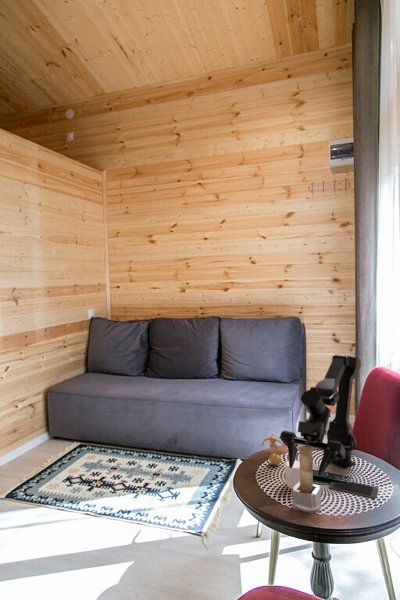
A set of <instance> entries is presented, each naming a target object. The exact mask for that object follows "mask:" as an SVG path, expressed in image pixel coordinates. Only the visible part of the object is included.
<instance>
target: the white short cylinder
mask: <svg viewBox="0 0 400 600" xmlns="http://www.w3.org/2000/svg"><path fill="white" fill-rule="evenodd" d="M283 466H284V474H285V482H286V486H287V487H288V488H289V489H291V490H293V487H294V486H295V485H296V484H297V483H298V482H300V459H298V460H297V459H295V461H294V464H293V467H292V468H290V467H289V459H288V460H286V461H285V462H283Z"/></svg>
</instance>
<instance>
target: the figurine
mask: <svg viewBox="0 0 400 600" xmlns="http://www.w3.org/2000/svg"><path fill="white" fill-rule="evenodd" d="M265 441H269V447H270V448H271V449H270V452H271V454H270V456H269V458H268V459H269V463H271V465H273V466H278V465H280V463H281V459H282V458H281V456H280V455H279V454H278V453H277V452H278V445H277V443H276V442H278V443H280V444H281V445H282V447H283V448H284V449H286V445H284V443H283V442H282V440H280V439H278V438H277V437H276V436H275V434H274V433H271V435H270V436H269V437H267V438H264V439H263V441H262V444H261V445H262V446H263V445H264V444H265ZM273 448H274V449H275V450H274V449H273ZM273 451H275V452H273Z"/></svg>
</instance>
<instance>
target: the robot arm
mask: <svg viewBox="0 0 400 600" xmlns="http://www.w3.org/2000/svg"><path fill="white" fill-rule="evenodd" d="M361 361H362V360H361V359H360V358H359V357H358V356H357V355H351V354H340V353H339V354H338V353H335V354H333V355H332V358H331V363H330V365H329V367H328V370H327V371H326V373H325V375H324V378H323V380H320V381H319V382H316V385H315V386H310V389H308V390H306V391H304V392H303V393H302V394H301V398H300V399H301V403H302V405H303V406H304V408H305V410H306V411H307V413H308V414H309V416H308V419H306V421H301V420H300V421H298V427H297V433H300V436H301V437H298V436H297V435H296V433H295V432H294V431H289V430H283V431H281V432H280V435H279V440H280V441H281V442H282V444H284V446H285V447H287V449H288V460H289V467H290V468H292V467H293V464H294V461H295V460H296V457H297V455H298V452H299V449H298V448H297V447H298V446H299V445H301V446H309V447H311V448H314V449H319V450H323V453H322V455H323V456H322V458H321V461H320V464H319V468H318V471H317V475H318V476H319V477H322V475H323V473H324V472H326V470H327V468H329V467H330V466H331V464H332V465H335V466H337V467H339V468H342V469H345V470H346V469H348V468H350V467H352V466H354V465H356V461H353V460H352V459H353V458H352V452H353V451H356V450H357V439H356V437H355V435H354V434H353V433H354V432H353V426H352V424H351V423H350V412H351V411H350V410H351V402H352V401H351V400H352V390H353V384H354V383H353V381H354V380H355V379H356V378H357V376H358V375H359V371H360V369H361V365H362V362H361ZM335 405H336V409H335V417H334V419H332V420H331V421H329V420H330V418H331V416H332V415H331V411H330V409H329V408H328V406H331V407H333V406H335ZM328 422H329V423H328ZM327 426H328V428H327ZM325 436H326V439H327V440H326V441H327V442H326V443H325V442H324V439H325Z"/></svg>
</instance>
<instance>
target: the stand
mask: <svg viewBox="0 0 400 600" xmlns="http://www.w3.org/2000/svg"><path fill="white" fill-rule="evenodd" d="M292 505H293V507H294V508H295V509H296V510H298V511H300V512H303V513H315V512H316V513H317V512H319V511H320V510H321V509H322V490H321V485H318V484H314V483H313V490H312V491H310V492H306V491H304V490H301V489H300V482H298V483H297V484H296V485H295V486H294V487H293V489H292Z"/></svg>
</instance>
